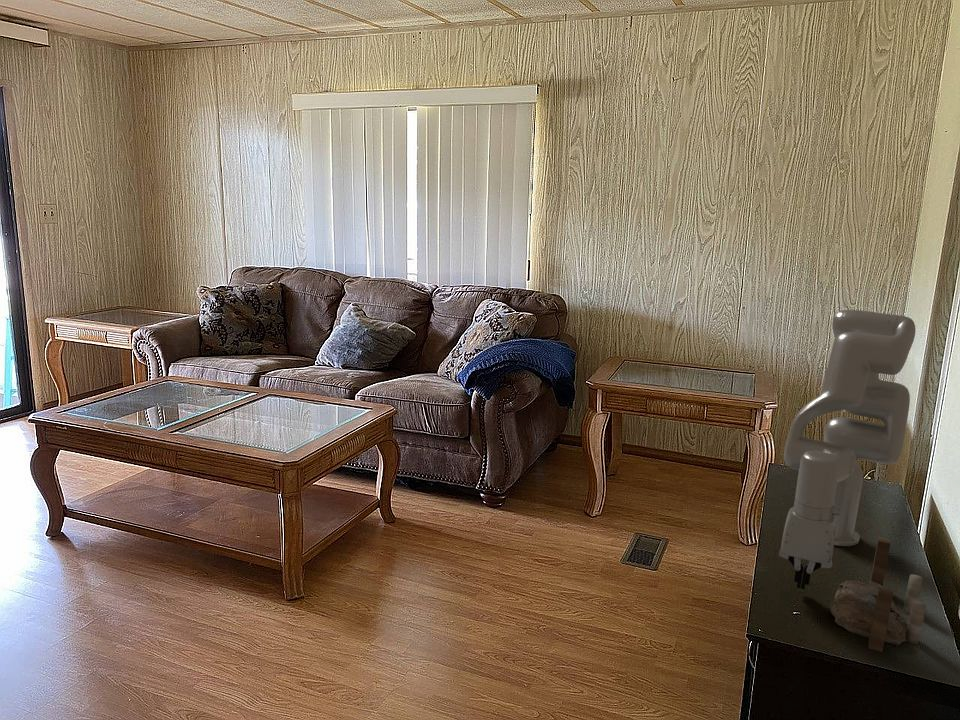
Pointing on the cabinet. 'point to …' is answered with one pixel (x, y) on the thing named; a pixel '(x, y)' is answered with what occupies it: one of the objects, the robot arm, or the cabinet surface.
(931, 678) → the cabinet surface
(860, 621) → the clay tablet
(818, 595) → the cabinet surface
